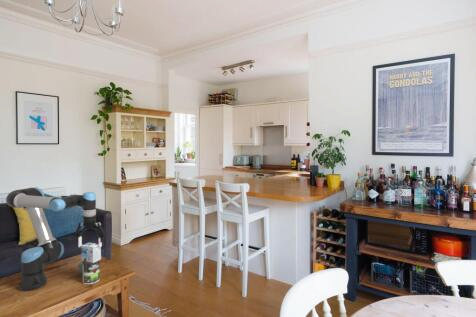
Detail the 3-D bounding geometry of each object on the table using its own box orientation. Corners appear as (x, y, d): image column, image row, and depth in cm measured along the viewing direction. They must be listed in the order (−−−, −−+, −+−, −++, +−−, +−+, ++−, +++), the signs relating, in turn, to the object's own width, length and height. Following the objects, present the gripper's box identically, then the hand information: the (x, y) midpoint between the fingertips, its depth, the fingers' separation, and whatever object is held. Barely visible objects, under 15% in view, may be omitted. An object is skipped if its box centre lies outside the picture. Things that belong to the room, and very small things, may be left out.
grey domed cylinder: (77, 276, 197) (76, 265, 197) (81, 273, 202) (80, 262, 202) (84, 276, 197) (83, 265, 197) (88, 273, 202) (87, 262, 202)
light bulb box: (81, 261, 189) (80, 245, 188) (89, 257, 195) (88, 242, 195) (93, 263, 185) (93, 247, 185) (101, 259, 192) (101, 243, 191)
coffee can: (102, 280, 192) (102, 259, 191) (87, 286, 184) (86, 264, 183) (95, 275, 198) (94, 256, 198) (79, 281, 190) (79, 260, 189)
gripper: (67, 216, 185) (68, 248, 186) (105, 217, 185) (106, 248, 186) (74, 213, 193) (74, 244, 194) (110, 214, 193) (111, 244, 194)
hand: (90, 246), depth 190 cm, fingers open, 13 cm apart
